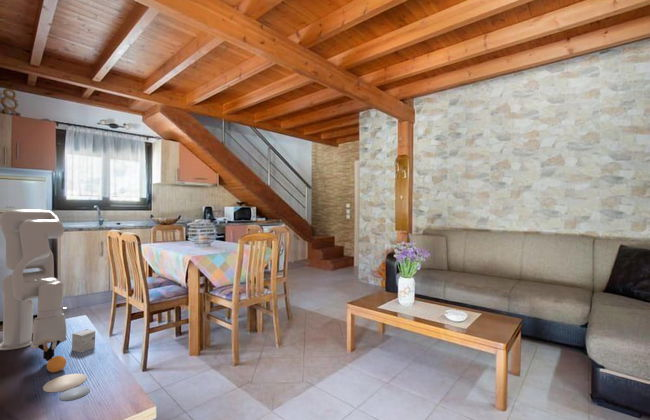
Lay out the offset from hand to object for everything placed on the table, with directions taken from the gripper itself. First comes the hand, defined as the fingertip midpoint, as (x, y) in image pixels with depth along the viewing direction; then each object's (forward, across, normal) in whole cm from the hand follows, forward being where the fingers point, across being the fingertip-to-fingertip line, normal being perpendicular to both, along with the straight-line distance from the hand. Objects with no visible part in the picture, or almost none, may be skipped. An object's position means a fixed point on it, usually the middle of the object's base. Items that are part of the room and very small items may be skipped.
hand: (48, 359), depth 126 cm
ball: (-1, 0, +10) cm, 10 cm away
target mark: (+2, 0, +22) cm, 22 cm away
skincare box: (+2, -13, -6) cm, 14 cm away
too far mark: (+2, 0, +32) cm, 33 cm away
